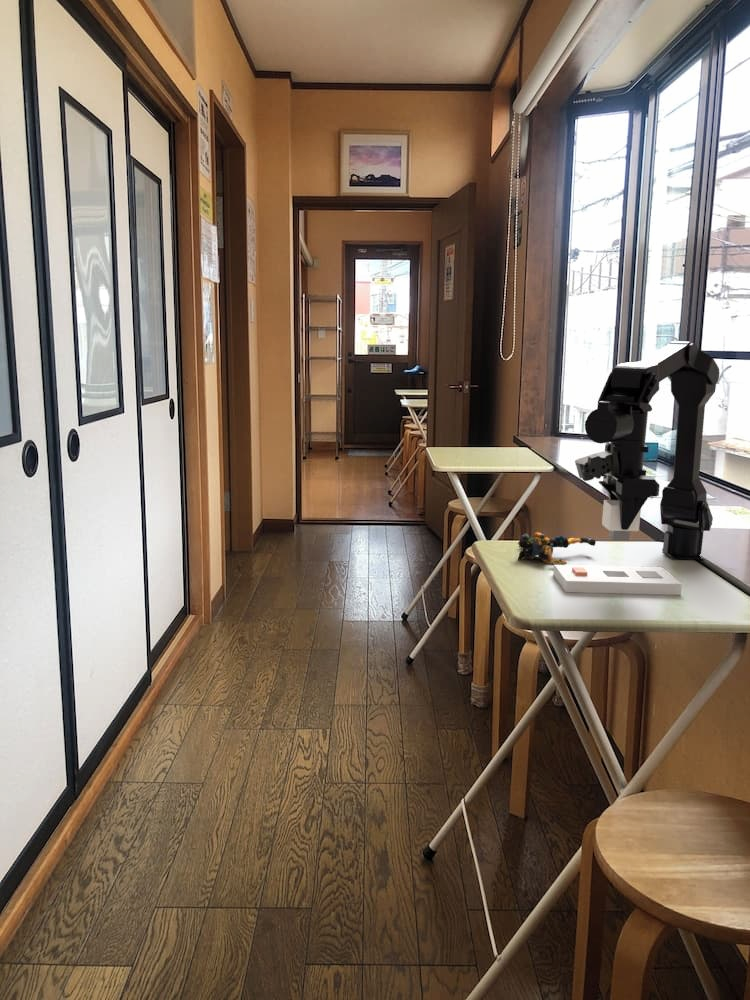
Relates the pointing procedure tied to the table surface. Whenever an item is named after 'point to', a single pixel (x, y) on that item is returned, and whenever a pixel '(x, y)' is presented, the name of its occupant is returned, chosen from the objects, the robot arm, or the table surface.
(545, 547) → the action figure
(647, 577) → the power strip
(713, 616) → the table surface
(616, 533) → the block
